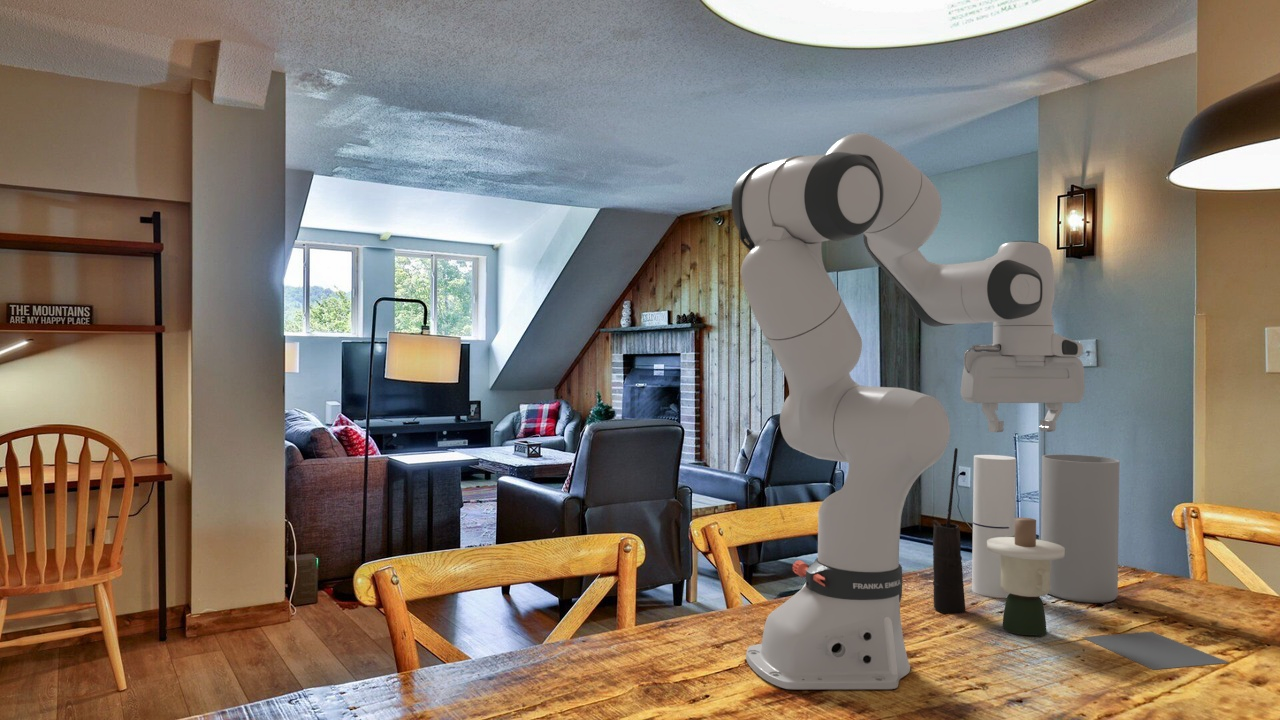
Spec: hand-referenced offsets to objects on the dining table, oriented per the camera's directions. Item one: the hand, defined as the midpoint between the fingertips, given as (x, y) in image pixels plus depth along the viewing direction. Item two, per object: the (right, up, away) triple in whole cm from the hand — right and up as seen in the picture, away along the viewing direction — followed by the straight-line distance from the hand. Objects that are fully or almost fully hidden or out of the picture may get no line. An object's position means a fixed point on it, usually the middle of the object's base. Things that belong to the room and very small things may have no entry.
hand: (1021, 431), depth 128 cm
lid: (0, -19, -2) cm, 19 cm away
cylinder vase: (+20, -32, +20) cm, 43 cm away
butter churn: (-9, -32, +10) cm, 34 cm away
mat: (+15, -32, -10) cm, 36 cm away
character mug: (-1, -32, -2) cm, 32 cm away
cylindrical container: (+4, -32, +21) cm, 38 cm away
